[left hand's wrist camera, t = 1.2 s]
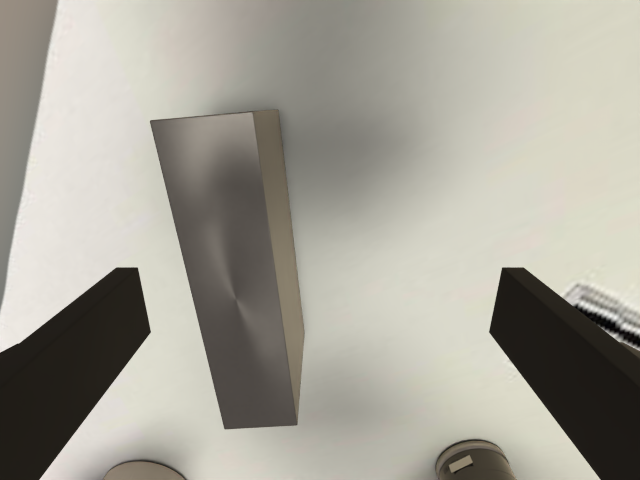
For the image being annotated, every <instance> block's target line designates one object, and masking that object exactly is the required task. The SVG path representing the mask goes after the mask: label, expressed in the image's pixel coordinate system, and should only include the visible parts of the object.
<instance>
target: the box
mask: <svg viewBox="0 0 640 480" xmlns="http://www.w3.org/2000/svg"><path fill="white" fill-rule="evenodd" d="M150 124H151V128H152V132H153V136H154V140H155V144H156V148H157V153H158V157H159V161H160V165H161V169H162V173H163V177H164V181H165V186H166V190H167V194H168V198H169V202H170V206H171V210H172V214H173V219H174V223H175V227H176V231H177V235H178V239H179V243H180V247H181V252H182V256H183V260H184V264H185V268H186V272H187V276H188V280H189V285H190V289H191V293H192V297H193V301H194V305H195V309H196V313H197V318H198V322H199V326H200V330H201V334H202V338H203V342H204V346H205V351H206V355H207V359H208V363H209V367H210V371H211V375H212V379H213V384H214V388H215V392H216V396H217V400H218V404H219V408H220V412H221V417H222V421H223V425H224V429H239V428H257V427H274V426H292V425H297V422H298V410H299V397H300V384H301V371H302V358H303V345H304V325H303V317H302V308H301V300H300V291H299V282H298V274H297V265H296V257H295V248H294V240H293V231H292V223H291V214H290V206H289V197H288V188H287V180H286V171H285V163H284V154H283V146H282V137H281V129H280V120H279V112H278V110H266V111H252V112H240V113H229V114H218V115H206V116H195V117H184V118H172V119H161V120H151V121H150Z"/></svg>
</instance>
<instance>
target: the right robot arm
mask: <svg viewBox="0 0 640 480" xmlns="http://www.w3.org/2000/svg"><path fill="white" fill-rule="evenodd" d="M436 473H437V476H438V479H439V480H516V478H515V476H514V474H513V472H512V470H511V468H510V466H509V463H508V461H507V459H506V457H505V455H504V453H503V452H502V450H501V449H500V448H498V447H497V446H495V445H494V444H491V443H488V442H484V441H467V442H463V443H459V444H457V445H454V446H452V447H451V448H449V449H448V450H446V451H445V452H444V453H443V454H442V455H441V456H440V458H439V459H438V461H437V464H436Z"/></svg>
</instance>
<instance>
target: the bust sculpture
mask: <svg viewBox="0 0 640 480" xmlns="http://www.w3.org/2000/svg"><path fill="white" fill-rule="evenodd" d="M103 480H184V478H183V477H181V476H180V475H179V474H178V473H176V472H175V471H173V470H171V469H169V468H167V467H165V466H162V465H159V464H155V463H151V462H128V463H124V464H121V465H118V466H116V467H114V468H113V469H111V470H110V471H109V472H108V473H107V474H106V476H105V477H104V479H103Z"/></svg>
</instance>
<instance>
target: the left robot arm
mask: <svg viewBox="0 0 640 480" xmlns="http://www.w3.org/2000/svg"><path fill="white" fill-rule="evenodd" d="M150 333H151V331H150V326H149V321H148V316H147V311H146V306H145V301H144V296H143V291H142V286H141V281H140V276H139V271H138V268H115V269H114V270H113V271H112V272H110V273H109V274H108V275H106V276H105V277H104V278H103V279H101V280H100V281H99V282H97V283H96V284H95V285H94V286H92V287H91V288H90V289H88V290H87V291H86V292H85V293H83V294H82V295H81V296H80V297H78V298H77V299H76V300H74V301H73V302H72V303H71V304H69V305H68V306H67V307H65V308H64V309H63V310H62V311H60V312H59V313H58V314H57V315H55V316H54V317H53V318H51V319H50V320H49V321H48V322H46V323H45V324H44V325H42V326H41V327H40V328H39V329H37V330H36V331H35V332H33V333H32V334H31V335H30V336H28V337H27V338H26V339H25V340H23V341H22V342H21V343H19V344H16V345H14V346H12V347H10V348H8V349H6V350H5V351H3V352H1V353H0V480H39V479H40V478H41V477H42V475H43V474H44V473H45V471H46V470H47V469H48V467H49V466H50V465H51V463H52V462H53V461H54V459H55V458H56V457H57V455H58V454H59V453H60V452H61V450H62V449H63V448H64V446H65V445H66V444H67V442H68V441H69V440H70V438H71V437H72V436H73V434H74V433H75V432H76V430H77V429H78V428H79V426H80V425H81V424H82V422H83V421H84V420H85V418H86V417H87V416H88V415H89V413H90V412H91V411H92V409H93V408H94V407H95V405H96V404H97V403H98V401H99V400H100V399H101V397H102V396H103V395H104V393H105V392H106V391H107V389H108V388H109V387H110V385H111V384H112V383H113V381H114V380H115V379H116V378H117V376H118V375H119V374H120V372H121V371H122V370H123V368H124V367H125V366H126V364H127V363H128V362H129V360H130V359H131V358H132V356H133V355H134V354H135V352H136V351H137V350H138V348H139V347H140V346H141V344H142V343H143V342H144V341H145V339H146V338H147V337H148V335H149V334H150ZM489 333H490V334H491V335H492V337H493V338H494V339H495V341H496V342H497V343H498V344H499V346H500V347H501V348H502V350H503V351H504V352H505V354H506V355H507V356H508V358H509V359H510V360H511V362H512V363H513V364H514V366H515V367H516V368H517V370H518V371H519V372H520V374H521V375H522V376H523V378H524V379H525V380H526V381H527V383H528V384H529V385H530V387H531V388H532V389H533V391H534V392H535V393H536V395H537V396H538V397H539V399H540V400H541V401H542V403H543V404H544V405H545V407H546V408H547V409H548V411H549V412H550V413H551V415H552V416H553V417H554V418H555V420H556V421H557V422H558V424H559V425H560V426H561V428H562V429H563V430H564V432H565V433H566V434H567V436H568V437H569V438H570V440H571V441H572V442H573V444H574V445H575V446H576V448H577V449H578V450H579V452H580V453H581V454H582V455H583V457H584V458H585V459H586V461H587V462H588V463H589V465H590V466H591V467H592V469H593V470H594V471H595V473H596V474H597V475H598V477H599V478H600V479H601V480H640V351H638V350H636V349H635V348H633V347H631V346H629V345H627V344H625V343H623V342H618V341H617V340H615V339H614V338H613V337H612V336H610V335H609V334H608V333H607V332H605V331H604V330H603V329H601V328H600V327H599V326H598V325H596V324H595V323H594V322H592V321H591V320H590V319H589V318H587V317H586V316H585V315H583V314H582V313H581V312H580V311H578V310H577V309H576V308H575V307H573V306H572V305H571V304H569V303H568V302H567V301H566V300H564V299H563V298H562V297H560V296H559V295H558V294H557V293H555V292H554V291H553V290H552V289H550V288H549V287H548V286H546V285H545V284H544V283H543V282H541V281H540V280H539V279H537V278H536V277H535V276H534V275H532V274H531V273H530V272H528V271H527V270H526V269H525V268H502V271H501V276H500V281H499V286H498V291H497V296H496V301H495V306H494V311H493V316H492V321H491V326H490V331H489Z"/></svg>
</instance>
